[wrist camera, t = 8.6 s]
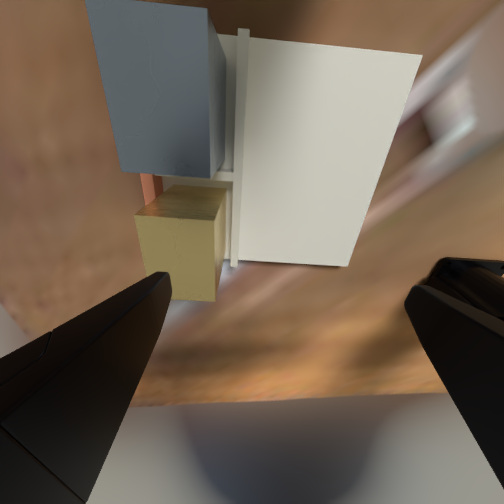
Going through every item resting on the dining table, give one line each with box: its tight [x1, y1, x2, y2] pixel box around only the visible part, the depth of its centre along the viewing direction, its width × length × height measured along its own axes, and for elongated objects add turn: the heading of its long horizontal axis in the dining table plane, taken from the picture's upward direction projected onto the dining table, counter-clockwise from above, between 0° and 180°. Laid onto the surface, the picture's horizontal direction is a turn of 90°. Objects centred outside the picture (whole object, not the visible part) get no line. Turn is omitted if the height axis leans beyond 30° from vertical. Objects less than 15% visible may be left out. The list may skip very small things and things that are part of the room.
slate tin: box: [85, 0, 226, 179], centre depth 11 cm, size 4×6×6 cm
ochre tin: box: [134, 184, 227, 302], centre depth 15 cm, size 4×6×6 cm
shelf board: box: [140, 28, 423, 267], centre depth 16 cm, size 17×15×3 cm
